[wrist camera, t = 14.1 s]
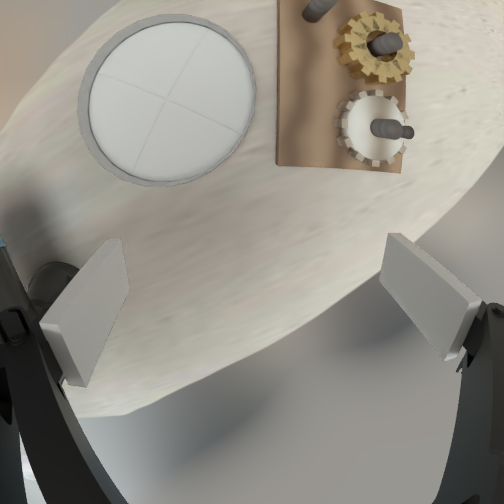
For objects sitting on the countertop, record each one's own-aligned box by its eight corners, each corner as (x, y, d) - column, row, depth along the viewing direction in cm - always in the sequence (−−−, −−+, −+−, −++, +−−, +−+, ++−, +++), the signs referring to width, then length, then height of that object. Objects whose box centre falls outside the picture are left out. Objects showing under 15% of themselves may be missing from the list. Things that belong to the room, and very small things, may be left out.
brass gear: (333, 79, 32) (345, 74, 28) (332, 13, 28) (343, 3, 24) (399, 91, 33) (415, 90, 29) (397, 29, 29) (412, 23, 25)
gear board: (275, 163, 38) (289, 175, 30) (277, -12, 27) (290, -41, 19) (393, 170, 40) (428, 184, 31) (394, 12, 29) (427, -4, 21)
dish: (284, 66, 33) (292, 58, 28) (205, 207, 40) (202, 218, 36) (139, 6, 27) (129, -6, 23) (70, 145, 34) (52, 149, 30)
